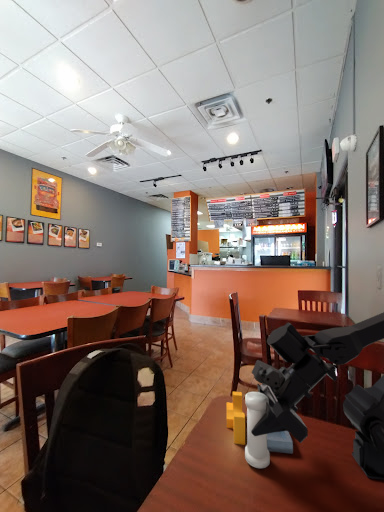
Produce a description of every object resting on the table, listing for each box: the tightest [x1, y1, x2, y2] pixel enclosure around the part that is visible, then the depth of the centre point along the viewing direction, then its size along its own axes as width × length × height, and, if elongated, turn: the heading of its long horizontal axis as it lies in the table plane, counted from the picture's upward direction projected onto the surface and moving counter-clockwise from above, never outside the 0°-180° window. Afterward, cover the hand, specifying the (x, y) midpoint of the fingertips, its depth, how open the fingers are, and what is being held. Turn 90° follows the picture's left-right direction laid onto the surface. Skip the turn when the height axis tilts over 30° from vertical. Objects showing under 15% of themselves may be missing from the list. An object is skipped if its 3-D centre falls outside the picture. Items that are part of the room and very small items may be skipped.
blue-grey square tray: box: [267, 431, 294, 455], centre depth 60 cm, size 9×9×2 cm
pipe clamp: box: [226, 391, 246, 446], centre depth 64 cm, size 12×4×6 cm, turn 172°
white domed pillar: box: [244, 391, 271, 469], centre depth 53 cm, size 5×5×13 cm
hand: (250, 426), depth 53 cm, fingers closed on white domed pillar, 4 cm apart
